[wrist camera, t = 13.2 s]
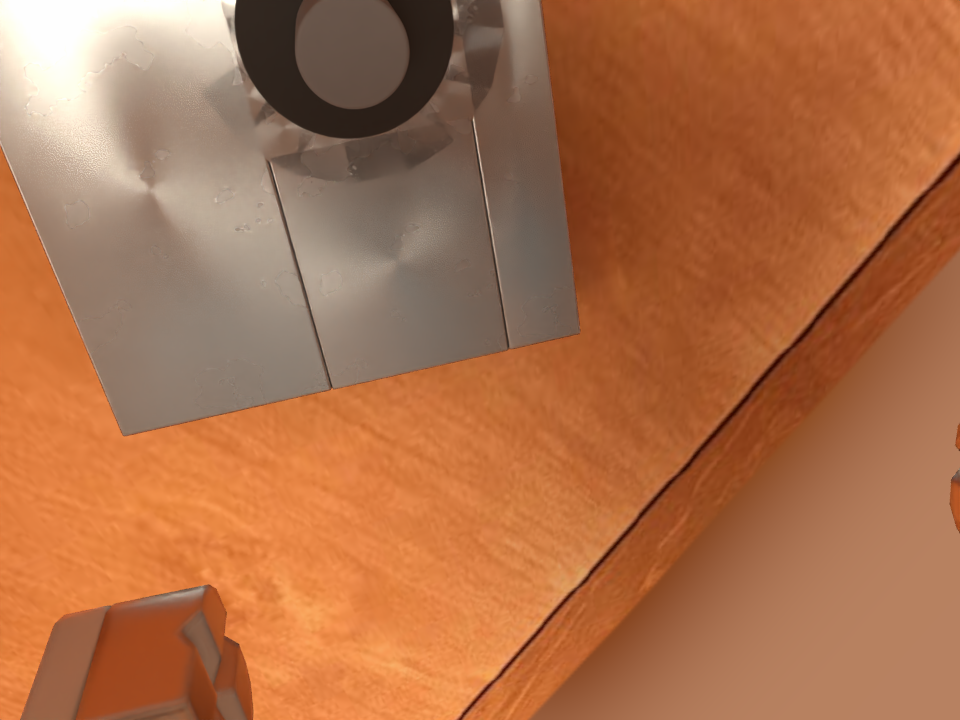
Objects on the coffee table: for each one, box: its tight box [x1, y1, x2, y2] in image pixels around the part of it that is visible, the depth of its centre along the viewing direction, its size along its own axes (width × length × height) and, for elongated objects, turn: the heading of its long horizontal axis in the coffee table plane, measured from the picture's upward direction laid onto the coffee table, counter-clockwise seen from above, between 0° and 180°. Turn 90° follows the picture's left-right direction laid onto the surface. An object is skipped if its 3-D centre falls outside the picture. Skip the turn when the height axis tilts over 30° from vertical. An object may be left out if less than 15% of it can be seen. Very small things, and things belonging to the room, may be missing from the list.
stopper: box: [234, 0, 454, 139], centre depth 22 cm, size 5×5×6 cm
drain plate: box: [0, 0, 581, 436], centre depth 25 cm, size 14×14×2 cm
